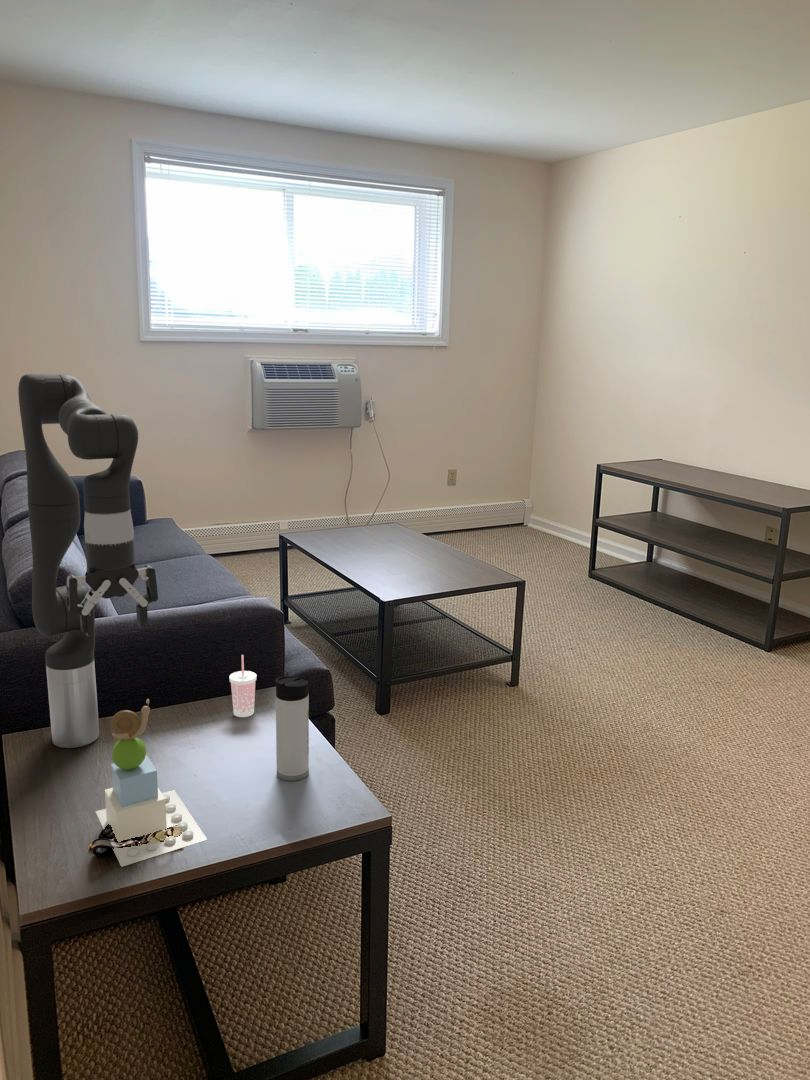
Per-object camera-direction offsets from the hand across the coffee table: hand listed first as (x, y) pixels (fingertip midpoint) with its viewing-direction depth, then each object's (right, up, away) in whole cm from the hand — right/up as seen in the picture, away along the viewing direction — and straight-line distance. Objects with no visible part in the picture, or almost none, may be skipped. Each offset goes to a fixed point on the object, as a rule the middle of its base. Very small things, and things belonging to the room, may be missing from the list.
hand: (115, 630), depth 135 cm
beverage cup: (+12, -24, +47) cm, 55 cm away
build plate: (+5, -35, +2) cm, 35 cm away
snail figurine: (+3, -23, -1) cm, 23 cm away
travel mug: (+27, -31, +22) cm, 46 cm away
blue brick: (+3, -28, +1) cm, 28 cm away
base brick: (+3, -34, +2) cm, 34 cm away
